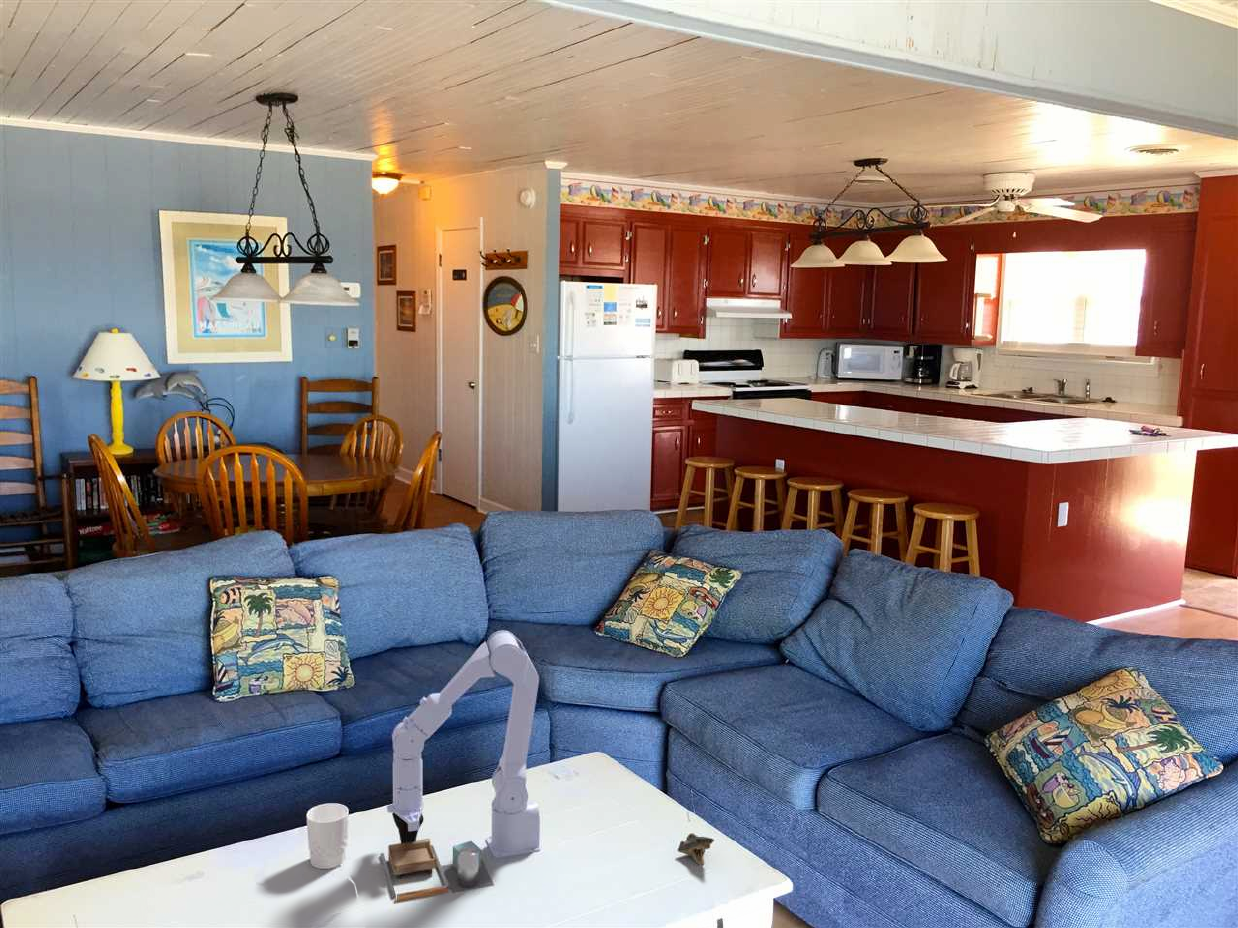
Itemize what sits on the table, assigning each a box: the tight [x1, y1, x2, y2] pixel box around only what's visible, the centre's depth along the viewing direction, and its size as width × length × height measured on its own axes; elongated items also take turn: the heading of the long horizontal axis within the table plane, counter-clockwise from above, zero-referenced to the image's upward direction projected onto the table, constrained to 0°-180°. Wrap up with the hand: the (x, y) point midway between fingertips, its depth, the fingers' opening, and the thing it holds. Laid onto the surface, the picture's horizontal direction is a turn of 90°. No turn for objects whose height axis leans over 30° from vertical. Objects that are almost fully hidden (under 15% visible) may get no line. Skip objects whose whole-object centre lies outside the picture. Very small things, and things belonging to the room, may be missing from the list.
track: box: [379, 845, 450, 902], centre depth 194 cm, size 10×17×1 cm, turn 21°
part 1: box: [452, 840, 482, 869], centre depth 196 cm, size 4×4×4 cm
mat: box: [441, 858, 495, 894], centre depth 194 cm, size 8×10×1 cm
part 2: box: [457, 847, 479, 888], centre depth 191 cm, size 4×4×6 cm
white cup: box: [306, 802, 350, 870], centre depth 198 cm, size 8×8×10 cm
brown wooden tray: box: [387, 838, 437, 880], centre depth 196 cm, size 8×8×4 cm
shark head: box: [677, 832, 715, 866], centre depth 202 cm, size 8×6×7 cm
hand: (407, 848), depth 200 cm, fingers closed
